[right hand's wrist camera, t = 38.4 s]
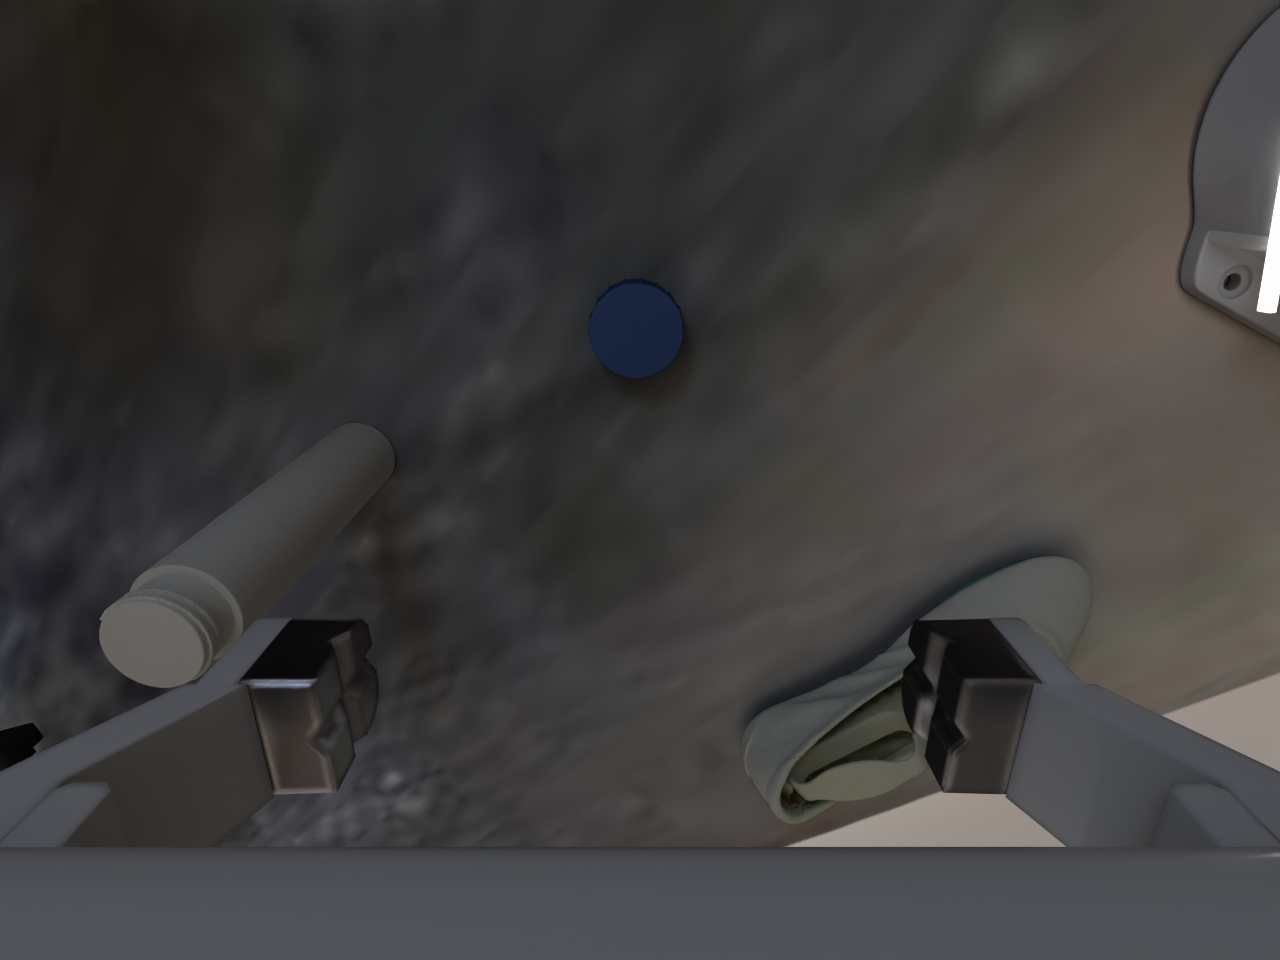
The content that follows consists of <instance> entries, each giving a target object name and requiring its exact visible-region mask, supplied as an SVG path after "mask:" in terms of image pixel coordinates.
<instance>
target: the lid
mask: <svg viewBox="0 0 1280 960" xmlns="http://www.w3.org/2000/svg"><path fill="white" fill-rule="evenodd" d="M596 303H597V304H596V306H595V308H594V311H593V312H591V315H590V318H591V319H590V325H589V333H588V335H589V336H590V342H591V345H592V348H593V351H594V352H595V354H596V356H597V357H598V359H599V360H600V361H601V362H602V364H603V365H605V366H606V367H607V368H608V369H610V370H611V371H613V372H614V373H616V374H619V375H622V376H625V377H630V378H643V377H648V376H651V375H654V374H656V373H658V372H660V371H661V370H663V369H664V368H666V367H667V366H668V365H669V364H670V363H671V362H672V361H673V359H674V358H675V357H676V355H677V353H678V351H679V349H680V346H681V344H682V339H683V328H684V324H683V321H682V318H681V315H680V311H681V310H680V308H679V305H678V306H677V305H676V303H675V301H674V299H673V298H672V296H671V293H670V292H667V291H666V290H665V289H664V288H662V287H661V286H659V285H658V283H657V282H656V283H653V282H650V281H647V280H642V278H640V279H630V280H626V279H624V281H622V282H619V283H617V284H615V285H613V286H612V287H611V286H609V288H608V290H607V291H606V292H605V293H604V294H603V295H602V296H601V297H598V299H597V301H596Z"/></svg>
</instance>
